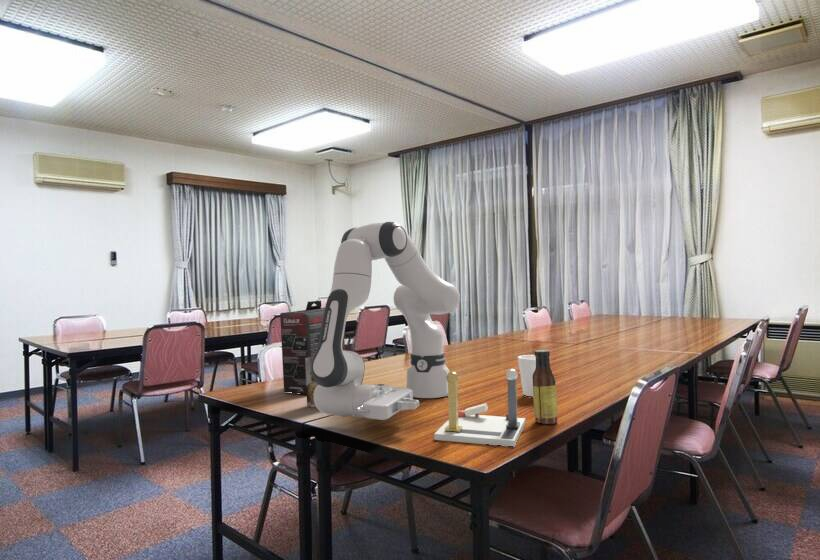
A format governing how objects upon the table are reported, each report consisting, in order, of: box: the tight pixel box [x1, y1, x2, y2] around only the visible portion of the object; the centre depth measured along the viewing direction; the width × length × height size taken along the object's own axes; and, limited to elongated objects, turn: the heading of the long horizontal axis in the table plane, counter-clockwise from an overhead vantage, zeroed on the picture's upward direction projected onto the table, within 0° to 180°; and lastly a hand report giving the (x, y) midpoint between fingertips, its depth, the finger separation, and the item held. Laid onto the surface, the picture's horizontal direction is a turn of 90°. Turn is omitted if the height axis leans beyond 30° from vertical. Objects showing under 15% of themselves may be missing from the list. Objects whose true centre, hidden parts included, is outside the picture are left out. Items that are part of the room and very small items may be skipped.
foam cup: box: [517, 354, 536, 397], centre depth 173 cm, size 10×9×13 cm
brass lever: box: [445, 371, 463, 432], centre depth 131 cm, size 3×4×15 cm
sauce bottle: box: [532, 349, 559, 425], centre depth 142 cm, size 7×6×20 cm
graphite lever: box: [505, 368, 520, 429], centre depth 133 cm, size 4×3×15 cm
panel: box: [433, 409, 527, 448], centre depth 135 cm, size 20×20×3 cm
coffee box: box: [305, 356, 319, 408], centre depth 166 cm, size 9×6×16 cm
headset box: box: [279, 300, 346, 395], centre depth 194 cm, size 24×13×33 cm, turn 154°
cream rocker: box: [464, 402, 489, 417], centre depth 143 cm, size 3×6×2 cm, turn 70°
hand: (417, 404), depth 135 cm, fingers closed
